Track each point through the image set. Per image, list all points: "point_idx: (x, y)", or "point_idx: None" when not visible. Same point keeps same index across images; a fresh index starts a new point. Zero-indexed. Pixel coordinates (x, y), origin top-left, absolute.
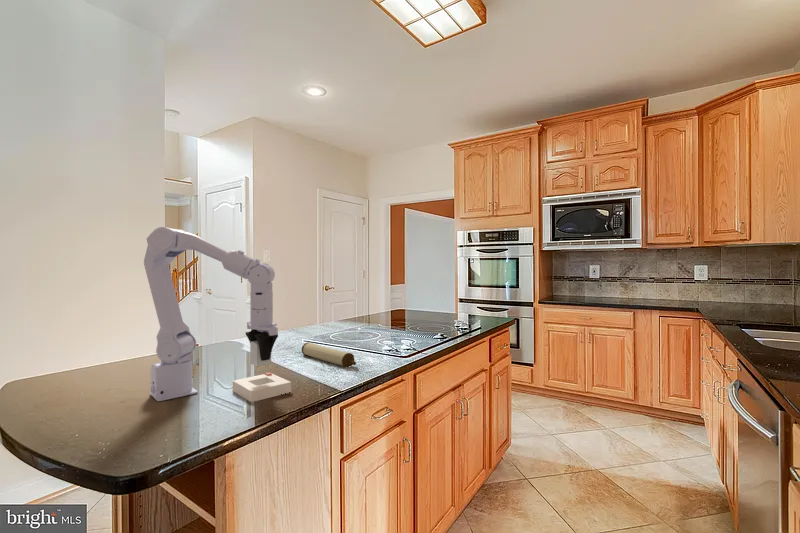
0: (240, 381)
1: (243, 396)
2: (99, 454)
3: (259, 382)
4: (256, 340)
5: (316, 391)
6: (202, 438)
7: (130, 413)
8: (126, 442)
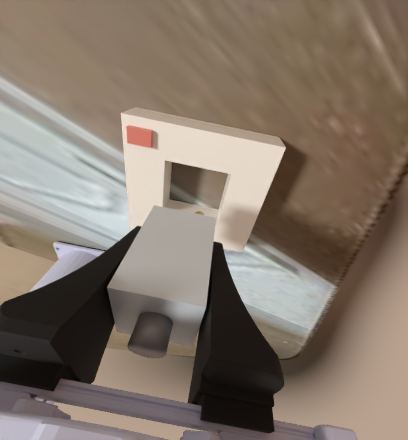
0: None
1: None
2: None
3: (166, 177)
4: (108, 312)
5: (369, 65)
6: (291, 320)
7: None
8: None
